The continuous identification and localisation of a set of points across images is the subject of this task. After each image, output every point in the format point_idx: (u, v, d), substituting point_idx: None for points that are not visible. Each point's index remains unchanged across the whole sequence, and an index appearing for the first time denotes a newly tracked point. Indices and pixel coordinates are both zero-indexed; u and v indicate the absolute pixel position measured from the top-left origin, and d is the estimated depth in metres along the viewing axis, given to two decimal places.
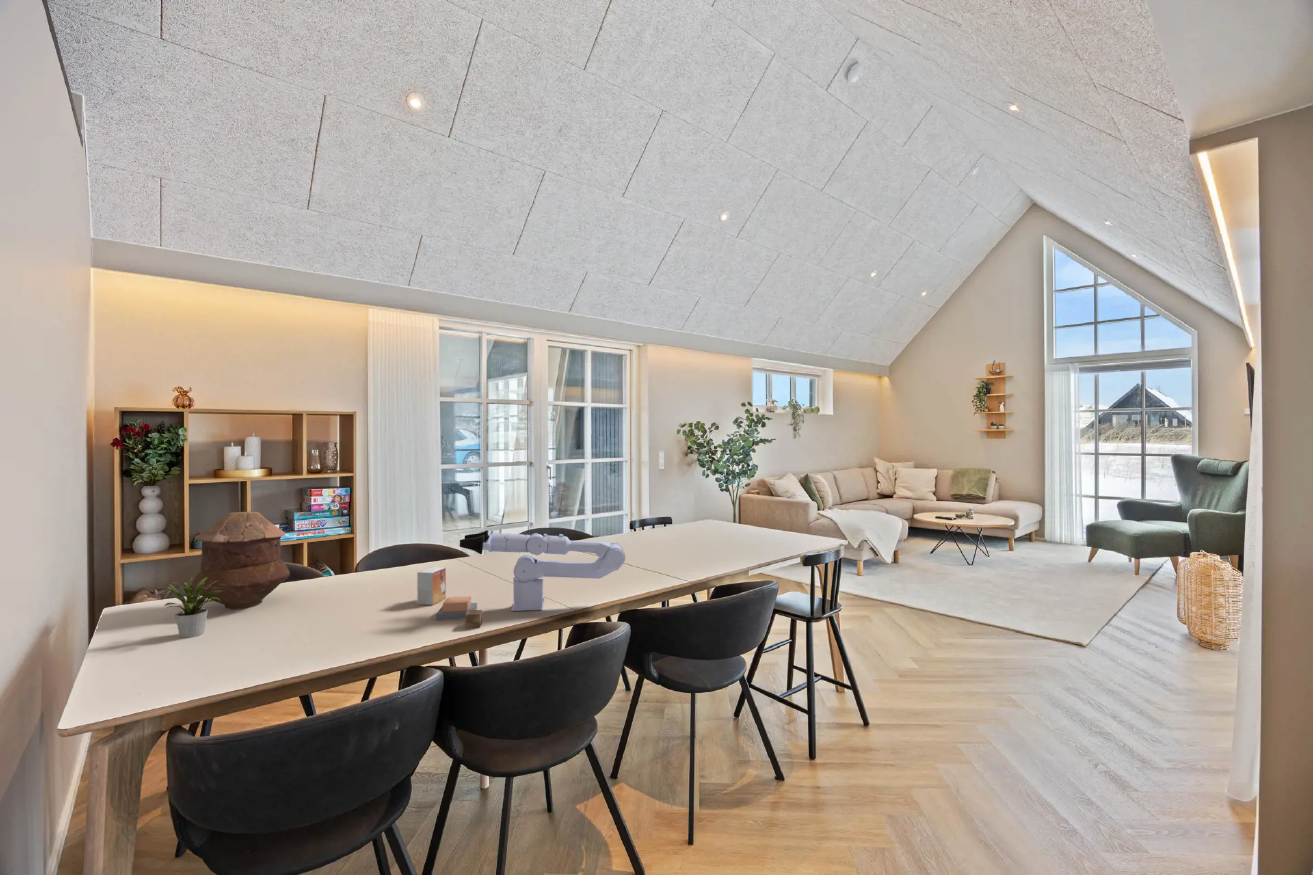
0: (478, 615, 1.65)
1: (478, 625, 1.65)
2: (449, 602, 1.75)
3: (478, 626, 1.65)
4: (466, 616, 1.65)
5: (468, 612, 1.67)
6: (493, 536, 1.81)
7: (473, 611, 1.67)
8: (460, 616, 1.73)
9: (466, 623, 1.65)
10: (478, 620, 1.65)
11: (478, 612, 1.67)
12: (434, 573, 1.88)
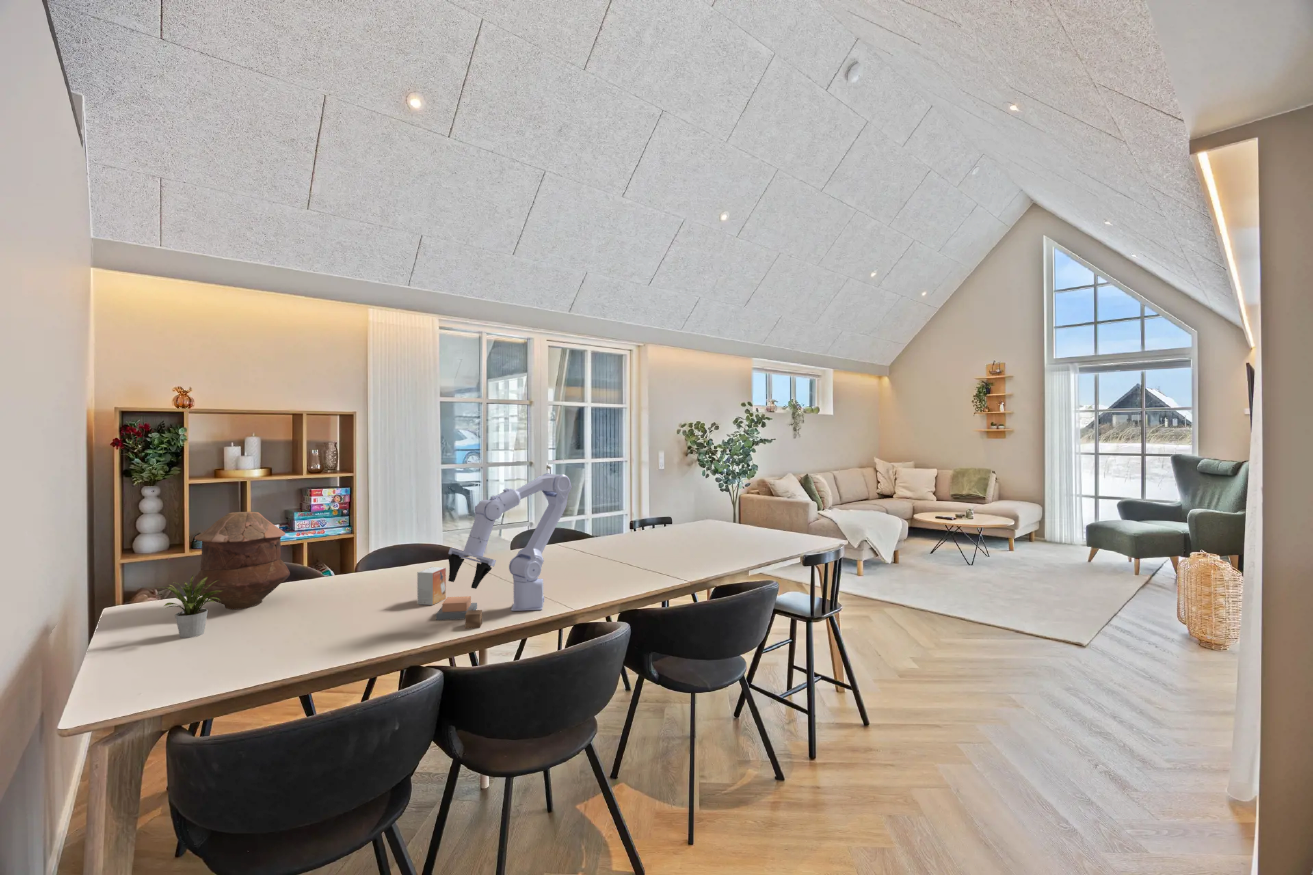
0: (478, 615, 1.65)
1: (478, 625, 1.65)
2: (449, 602, 1.75)
3: (478, 626, 1.65)
4: (466, 616, 1.65)
5: (468, 612, 1.67)
6: (475, 553, 1.69)
7: (473, 611, 1.67)
8: (460, 616, 1.73)
9: (466, 623, 1.65)
10: (478, 620, 1.65)
11: (478, 612, 1.67)
12: (434, 573, 1.88)
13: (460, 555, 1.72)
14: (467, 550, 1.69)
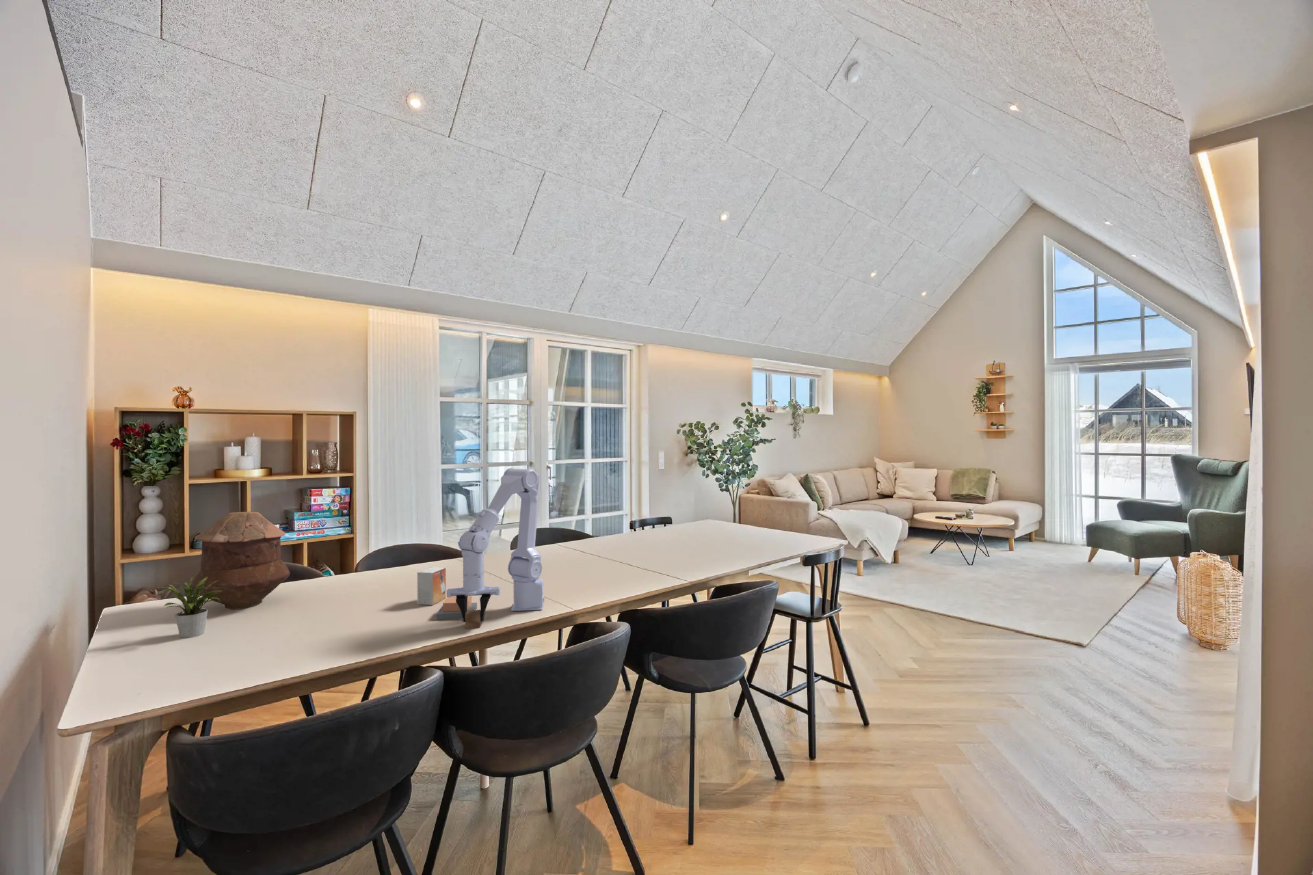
0: (478, 615, 1.65)
1: (478, 625, 1.65)
2: (449, 602, 1.76)
3: (478, 626, 1.65)
4: (466, 616, 1.65)
5: (468, 612, 1.67)
6: (478, 589, 1.65)
7: (473, 611, 1.67)
8: (460, 616, 1.73)
9: (466, 623, 1.65)
10: (478, 620, 1.65)
11: (478, 612, 1.67)
12: (434, 573, 1.88)
13: (460, 594, 1.66)
14: (469, 589, 1.64)
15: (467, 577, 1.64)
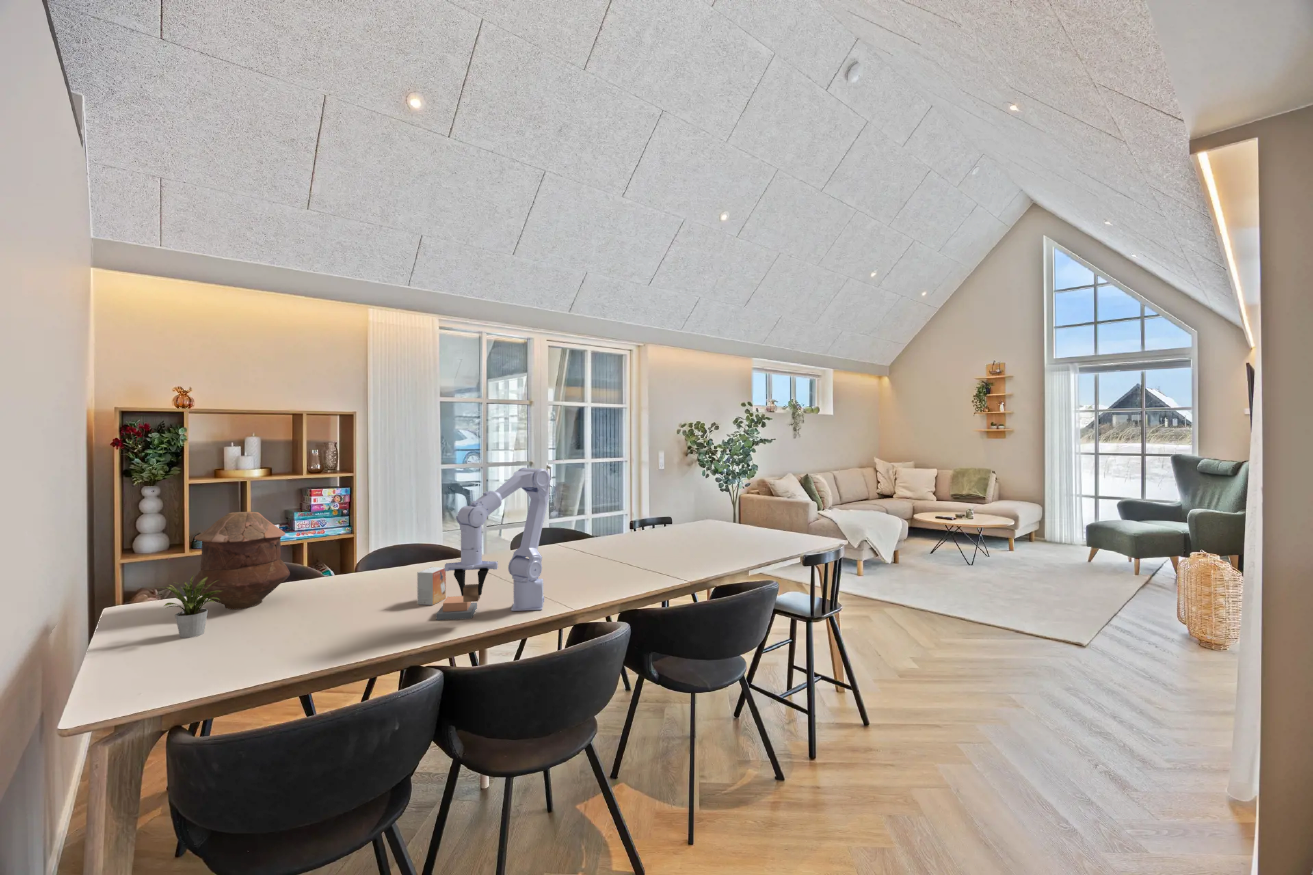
0: (476, 588, 1.66)
1: (476, 598, 1.67)
2: (449, 602, 1.75)
3: (476, 599, 1.67)
4: (464, 589, 1.66)
5: (466, 586, 1.68)
6: (476, 563, 1.66)
7: (471, 585, 1.69)
8: (460, 616, 1.73)
9: (464, 596, 1.66)
10: (476, 593, 1.66)
11: (476, 586, 1.68)
12: (434, 573, 1.88)
13: (458, 568, 1.67)
14: (467, 563, 1.65)
15: (465, 551, 1.65)
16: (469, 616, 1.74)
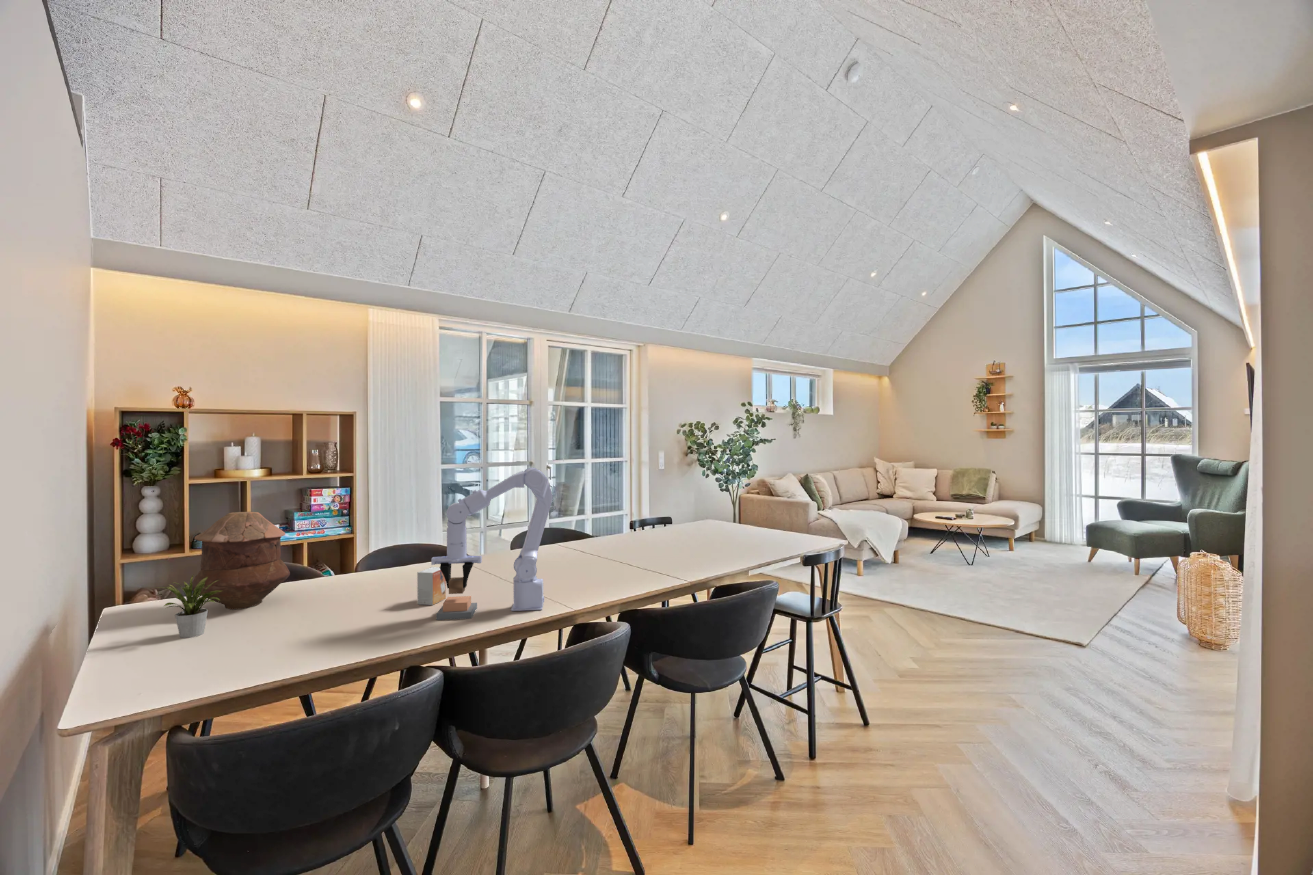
0: (461, 581, 1.76)
1: (461, 591, 1.76)
2: (449, 602, 1.75)
3: (461, 591, 1.76)
4: (449, 582, 1.76)
5: (451, 579, 1.78)
6: (461, 557, 1.76)
7: (456, 578, 1.78)
8: (460, 616, 1.73)
9: (449, 589, 1.76)
10: (461, 586, 1.76)
11: (461, 579, 1.78)
12: (434, 573, 1.88)
13: (444, 562, 1.77)
14: (453, 557, 1.75)
15: (450, 546, 1.75)
16: (469, 616, 1.73)
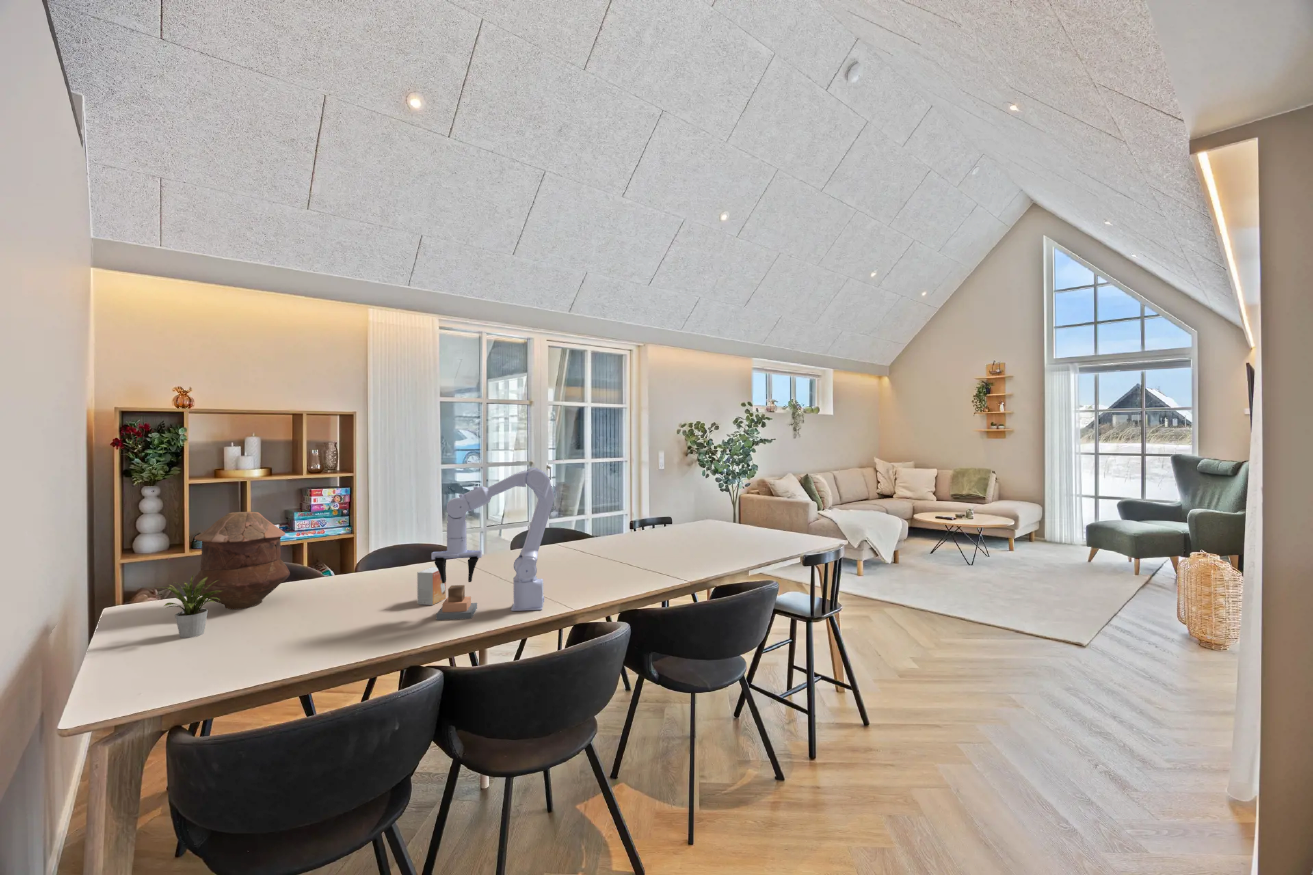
0: (460, 589, 1.76)
1: (460, 599, 1.76)
2: (449, 602, 1.75)
3: (460, 600, 1.76)
4: (449, 590, 1.76)
5: (451, 587, 1.78)
6: (461, 551, 1.76)
7: (456, 586, 1.78)
8: (460, 616, 1.73)
9: (449, 597, 1.76)
10: (460, 594, 1.76)
11: (460, 587, 1.78)
12: (434, 573, 1.88)
13: (444, 557, 1.77)
14: (453, 552, 1.75)
15: (450, 540, 1.75)
16: (469, 616, 1.74)
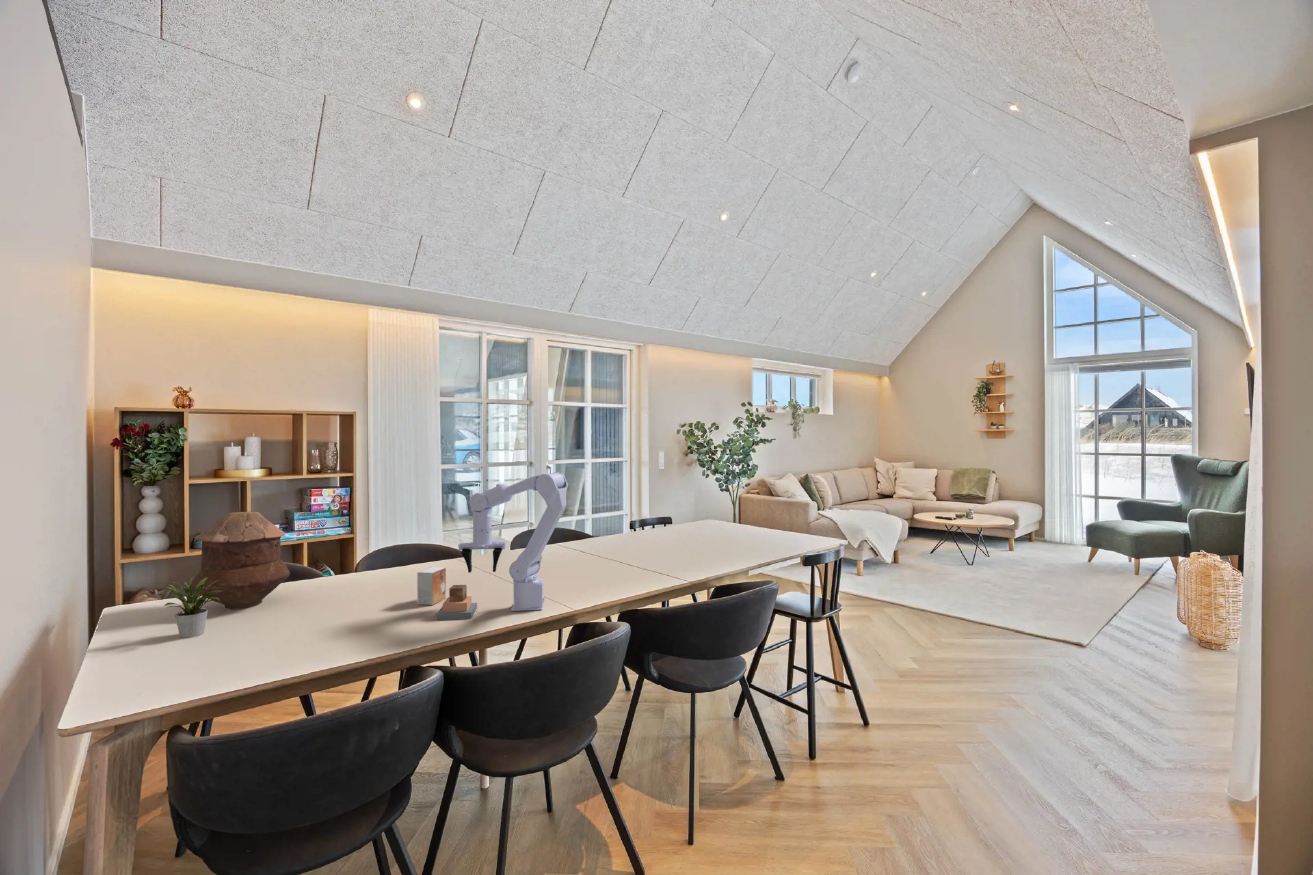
0: (461, 589, 1.76)
1: (461, 598, 1.76)
2: (449, 602, 1.75)
3: (461, 599, 1.76)
4: (450, 590, 1.76)
5: (453, 586, 1.78)
6: (487, 543, 1.87)
7: (457, 586, 1.78)
8: (460, 616, 1.73)
9: (450, 596, 1.76)
10: (461, 594, 1.76)
11: (462, 586, 1.78)
12: (434, 573, 1.88)
13: (470, 548, 1.88)
14: (479, 543, 1.86)
15: (477, 532, 1.86)
16: (469, 616, 1.73)
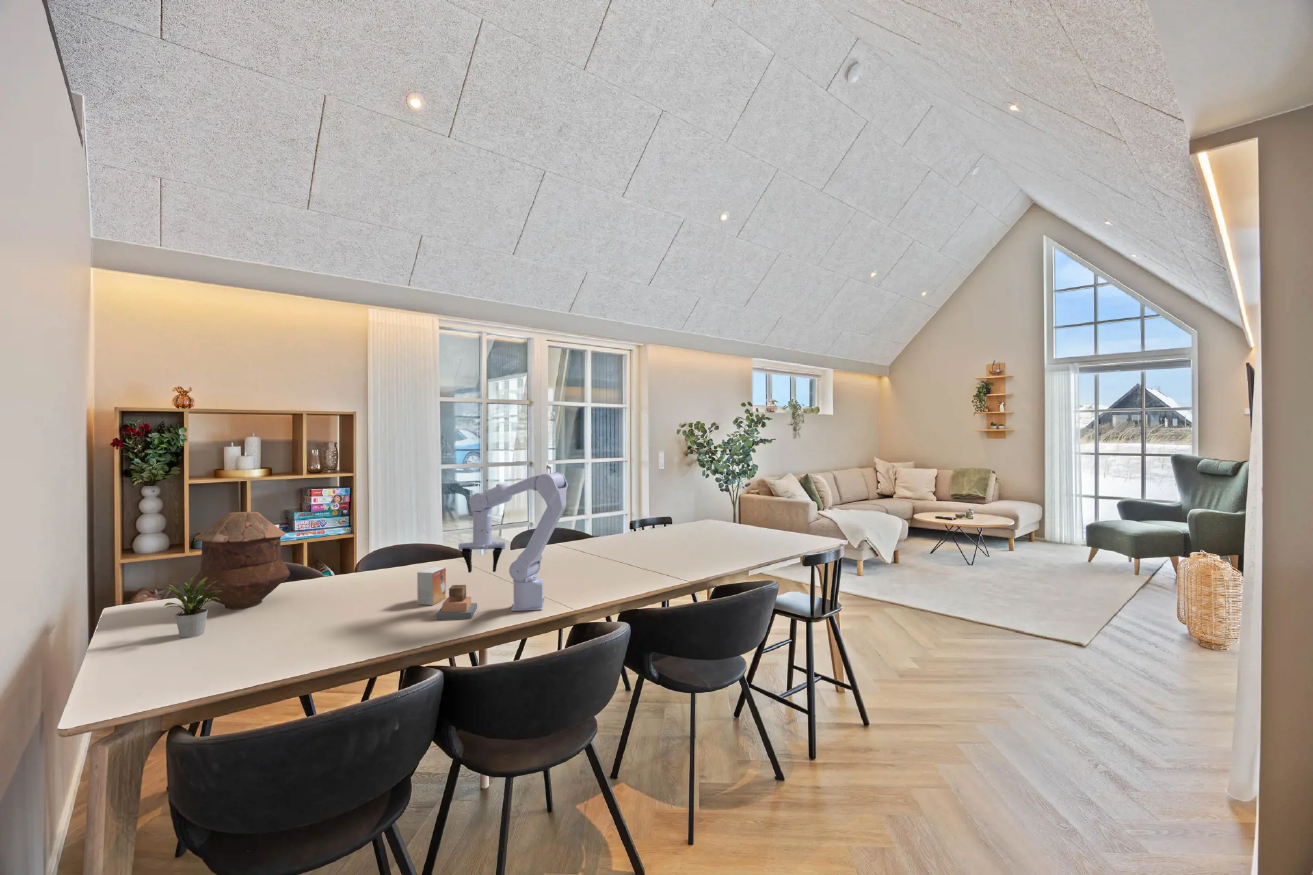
0: (461, 589, 1.76)
1: (461, 598, 1.76)
2: (449, 602, 1.75)
3: (461, 599, 1.76)
4: (450, 590, 1.76)
5: (452, 586, 1.78)
6: (487, 543, 1.87)
7: (457, 586, 1.78)
8: (460, 616, 1.73)
9: (450, 596, 1.76)
10: (461, 594, 1.76)
11: (461, 586, 1.78)
12: (434, 573, 1.88)
13: (470, 548, 1.88)
14: (479, 543, 1.86)
15: (477, 532, 1.86)
16: (469, 616, 1.73)
